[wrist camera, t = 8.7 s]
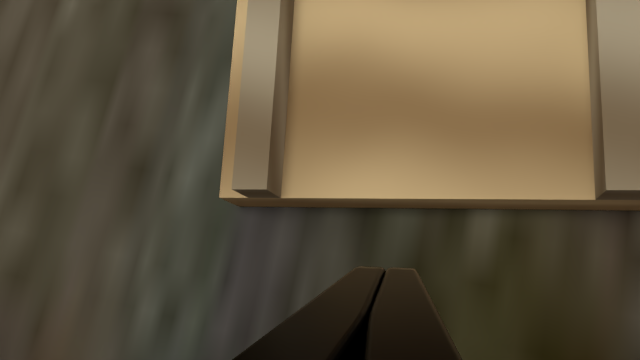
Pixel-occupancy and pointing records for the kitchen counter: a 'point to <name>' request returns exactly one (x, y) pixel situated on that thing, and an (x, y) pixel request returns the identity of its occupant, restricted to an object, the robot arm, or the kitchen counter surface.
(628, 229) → the kitchen counter surface
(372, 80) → the maple mount
